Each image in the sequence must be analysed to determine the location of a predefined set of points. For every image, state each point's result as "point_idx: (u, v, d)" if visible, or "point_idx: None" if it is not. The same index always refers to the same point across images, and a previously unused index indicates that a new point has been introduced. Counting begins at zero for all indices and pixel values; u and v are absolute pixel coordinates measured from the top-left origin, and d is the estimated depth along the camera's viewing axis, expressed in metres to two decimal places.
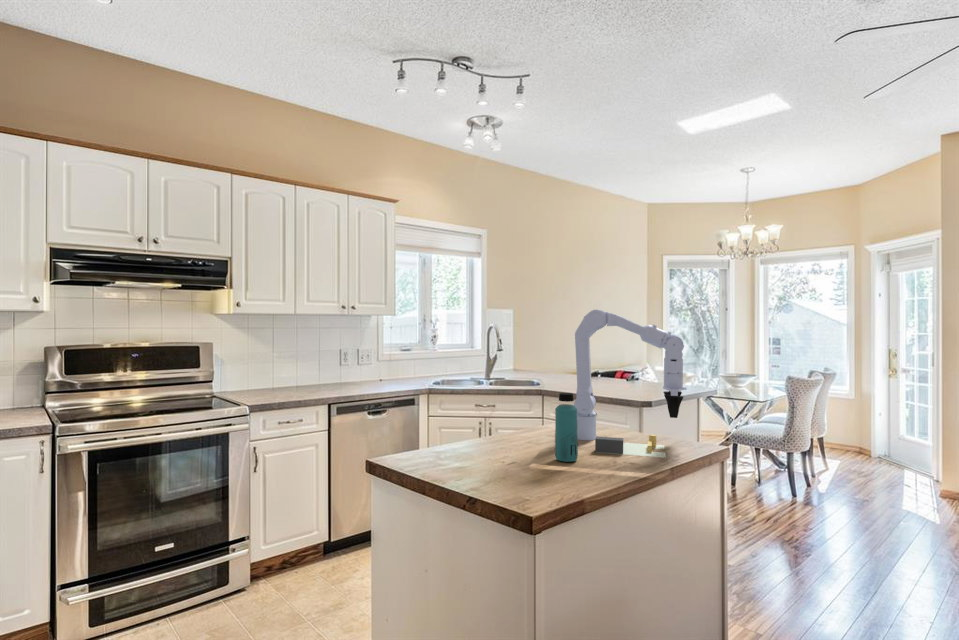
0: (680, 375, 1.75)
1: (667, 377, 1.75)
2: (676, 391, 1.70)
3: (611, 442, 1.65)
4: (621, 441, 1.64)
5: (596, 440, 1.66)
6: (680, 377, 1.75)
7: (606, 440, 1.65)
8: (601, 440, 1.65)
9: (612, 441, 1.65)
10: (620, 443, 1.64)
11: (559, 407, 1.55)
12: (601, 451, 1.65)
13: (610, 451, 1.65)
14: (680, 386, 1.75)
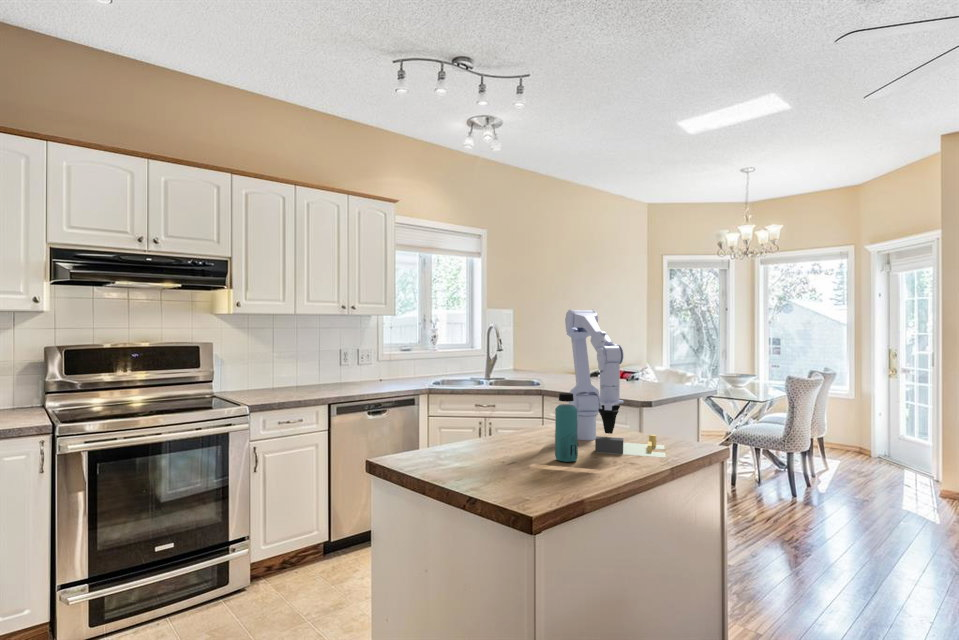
0: (616, 388, 1.64)
1: (602, 390, 1.65)
2: (610, 406, 1.59)
3: (611, 442, 1.65)
4: (621, 441, 1.64)
5: (596, 440, 1.66)
6: (616, 390, 1.64)
7: (606, 440, 1.65)
8: (601, 440, 1.65)
9: (612, 441, 1.65)
10: (620, 443, 1.64)
11: (559, 407, 1.55)
12: (601, 451, 1.65)
13: (610, 451, 1.65)
14: (616, 400, 1.64)
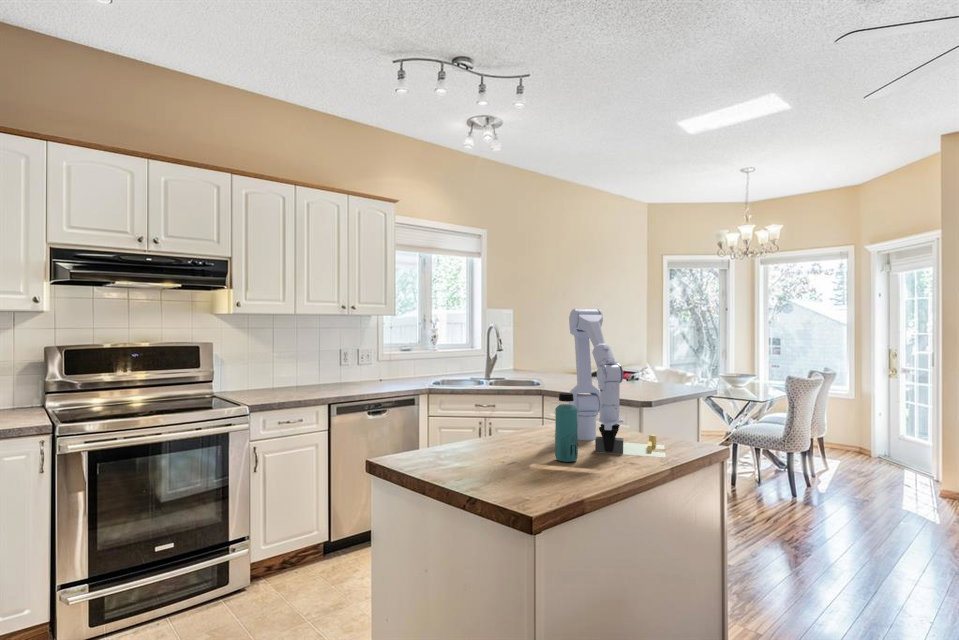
0: (616, 407, 1.64)
1: (602, 409, 1.65)
2: (610, 426, 1.59)
3: None
4: (621, 441, 1.64)
5: (596, 440, 1.66)
6: (616, 409, 1.64)
7: None
8: (601, 440, 1.65)
9: None
10: (620, 443, 1.64)
11: (559, 407, 1.55)
12: (601, 451, 1.65)
13: None
14: (616, 419, 1.64)
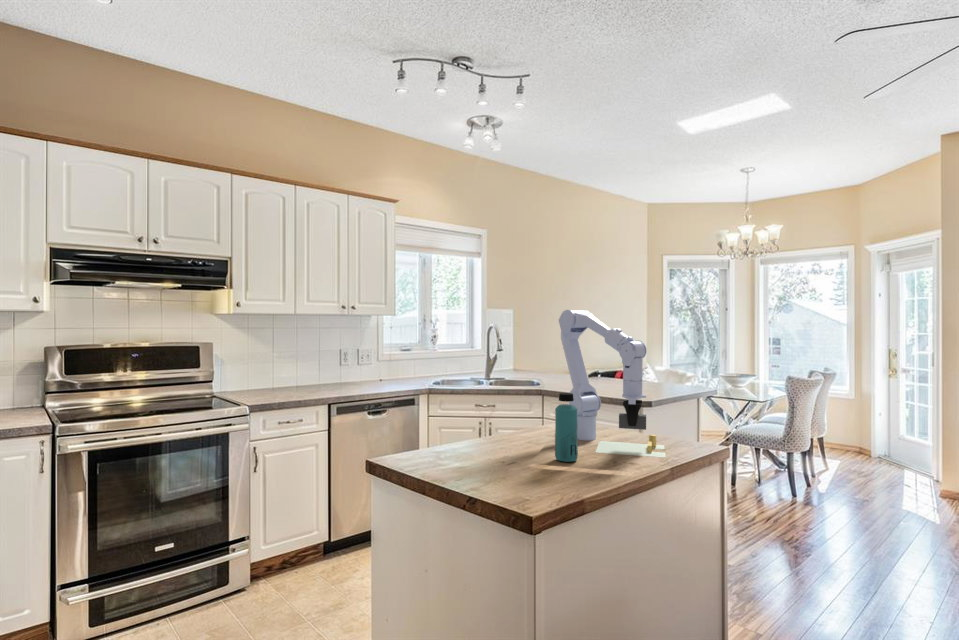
0: (639, 382, 1.68)
1: (626, 385, 1.69)
2: (634, 400, 1.63)
3: None
4: (644, 417, 1.68)
5: (620, 416, 1.70)
6: (639, 385, 1.68)
7: None
8: (625, 416, 1.69)
9: None
10: (643, 419, 1.68)
11: (559, 407, 1.55)
12: (625, 427, 1.69)
13: (633, 427, 1.69)
14: (639, 394, 1.68)
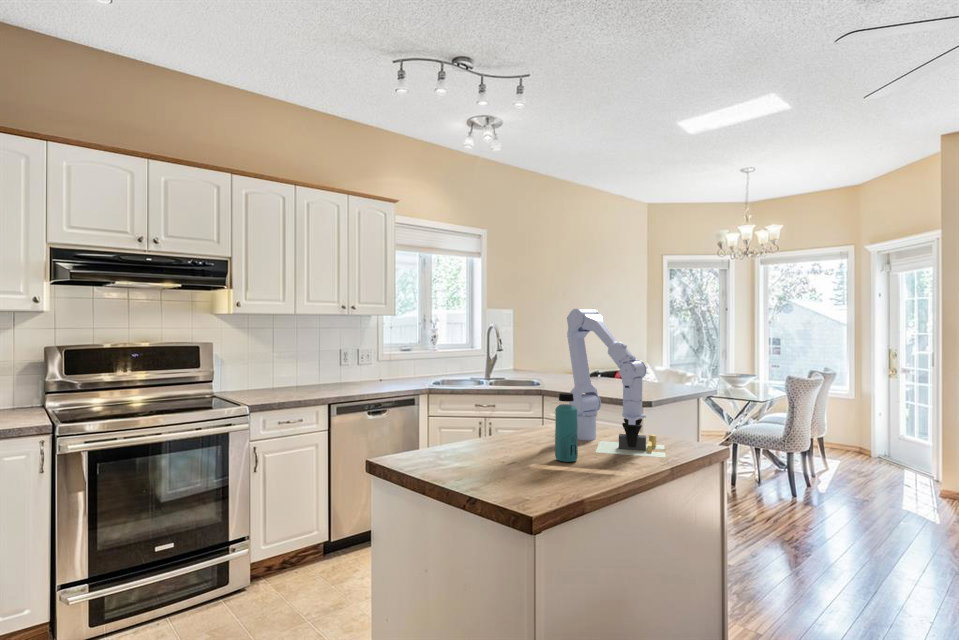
0: (639, 402, 1.68)
1: (626, 404, 1.69)
2: (634, 420, 1.63)
3: None
4: (644, 438, 1.68)
5: (619, 437, 1.70)
6: (639, 405, 1.68)
7: None
8: (624, 437, 1.69)
9: None
10: (643, 440, 1.68)
11: (559, 407, 1.55)
12: (624, 448, 1.69)
13: (633, 448, 1.69)
14: (639, 414, 1.68)
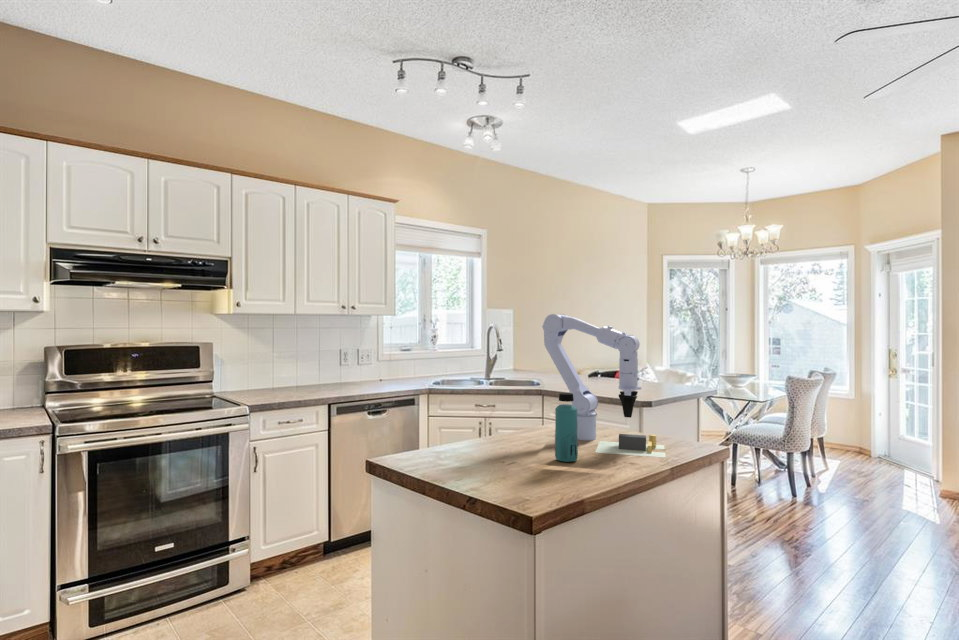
0: (634, 375, 1.76)
1: (622, 377, 1.77)
2: (629, 391, 1.71)
3: (634, 439, 1.68)
4: (644, 438, 1.68)
5: (619, 437, 1.70)
6: (634, 377, 1.76)
7: (629, 437, 1.69)
8: (624, 437, 1.69)
9: (635, 438, 1.68)
10: (643, 440, 1.68)
11: (559, 407, 1.55)
12: (624, 448, 1.69)
13: (633, 448, 1.69)
14: (634, 386, 1.76)
